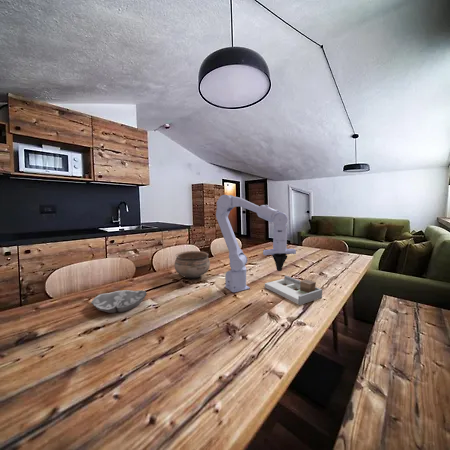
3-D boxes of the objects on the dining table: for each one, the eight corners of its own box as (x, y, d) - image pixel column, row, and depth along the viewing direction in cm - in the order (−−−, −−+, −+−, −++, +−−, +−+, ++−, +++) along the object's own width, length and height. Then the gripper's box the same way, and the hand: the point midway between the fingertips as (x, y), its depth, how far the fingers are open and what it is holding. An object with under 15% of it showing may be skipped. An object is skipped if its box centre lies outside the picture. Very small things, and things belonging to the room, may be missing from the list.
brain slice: (84, 320, 75) (83, 312, 75) (98, 299, 91) (98, 292, 91) (144, 313, 80) (144, 305, 80) (148, 294, 96) (147, 287, 96)
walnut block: (309, 293, 92) (309, 284, 92) (300, 290, 96) (300, 281, 95) (315, 291, 95) (315, 282, 94) (306, 287, 98) (306, 279, 98)
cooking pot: (220, 279, 114) (220, 256, 113) (187, 288, 102) (187, 262, 101) (196, 268, 134) (196, 248, 132) (166, 274, 122) (166, 252, 121)
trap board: (299, 305, 86) (300, 296, 86) (264, 287, 104) (264, 280, 103) (321, 297, 93) (322, 289, 93) (285, 282, 111) (285, 275, 110)
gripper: (290, 238, 100) (289, 266, 102) (260, 238, 97) (260, 268, 99) (298, 240, 93) (297, 271, 95) (267, 241, 91) (266, 273, 92)
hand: (279, 270), depth 96 cm, fingers closed
